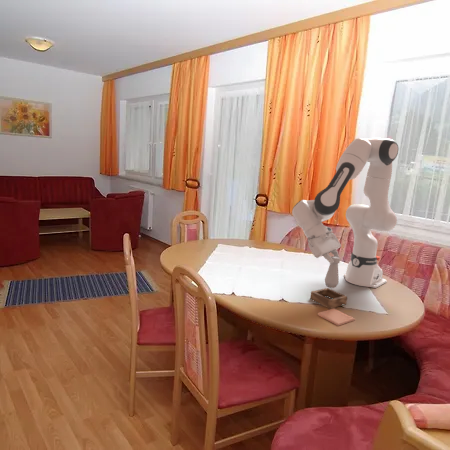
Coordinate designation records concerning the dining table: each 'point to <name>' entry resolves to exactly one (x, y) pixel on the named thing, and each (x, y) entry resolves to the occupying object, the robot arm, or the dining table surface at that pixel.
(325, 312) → the terracotta tile
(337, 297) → the box
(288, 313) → the dining table surface
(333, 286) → the salt shaker
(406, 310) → the dining table surface
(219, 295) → the dining table surface
